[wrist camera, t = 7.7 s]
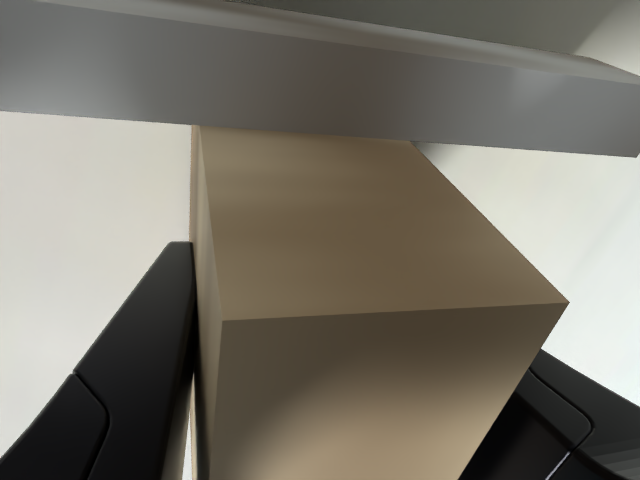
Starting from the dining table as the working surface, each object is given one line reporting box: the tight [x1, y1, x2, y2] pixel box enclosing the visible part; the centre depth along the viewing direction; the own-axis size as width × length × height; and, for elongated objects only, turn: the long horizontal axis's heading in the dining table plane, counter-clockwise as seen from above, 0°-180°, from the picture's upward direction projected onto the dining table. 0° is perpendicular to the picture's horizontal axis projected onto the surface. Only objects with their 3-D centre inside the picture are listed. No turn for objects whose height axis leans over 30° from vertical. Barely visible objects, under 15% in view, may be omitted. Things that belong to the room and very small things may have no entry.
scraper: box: [0, 0, 640, 480], centre depth 7 cm, size 12×7×6 cm, turn 79°
